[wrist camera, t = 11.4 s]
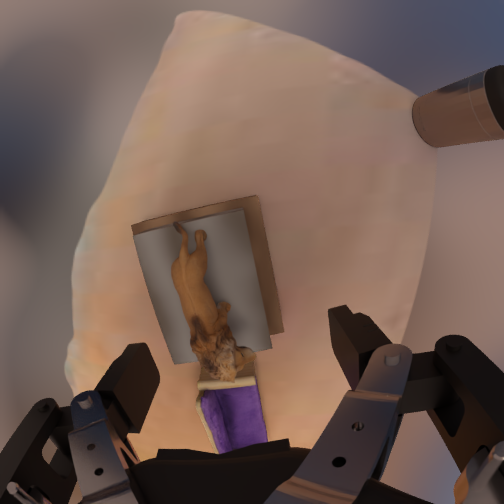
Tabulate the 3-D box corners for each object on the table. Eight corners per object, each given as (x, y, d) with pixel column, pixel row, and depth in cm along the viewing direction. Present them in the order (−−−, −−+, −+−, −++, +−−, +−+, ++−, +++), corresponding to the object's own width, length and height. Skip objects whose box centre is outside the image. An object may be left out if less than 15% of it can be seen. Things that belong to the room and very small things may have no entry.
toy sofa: (267, 434, 47) (272, 473, 37) (224, 439, 47) (223, 477, 37) (254, 353, 43) (258, 393, 33) (200, 358, 43) (192, 399, 33)
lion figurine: (256, 331, 31) (263, 379, 22) (214, 348, 31) (207, 398, 22) (196, 210, 28) (178, 218, 19) (152, 232, 28) (117, 250, 19)
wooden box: (255, 195, 38) (261, 196, 28) (279, 316, 41) (290, 351, 32) (143, 221, 38) (114, 231, 28) (177, 335, 41) (162, 372, 32)
